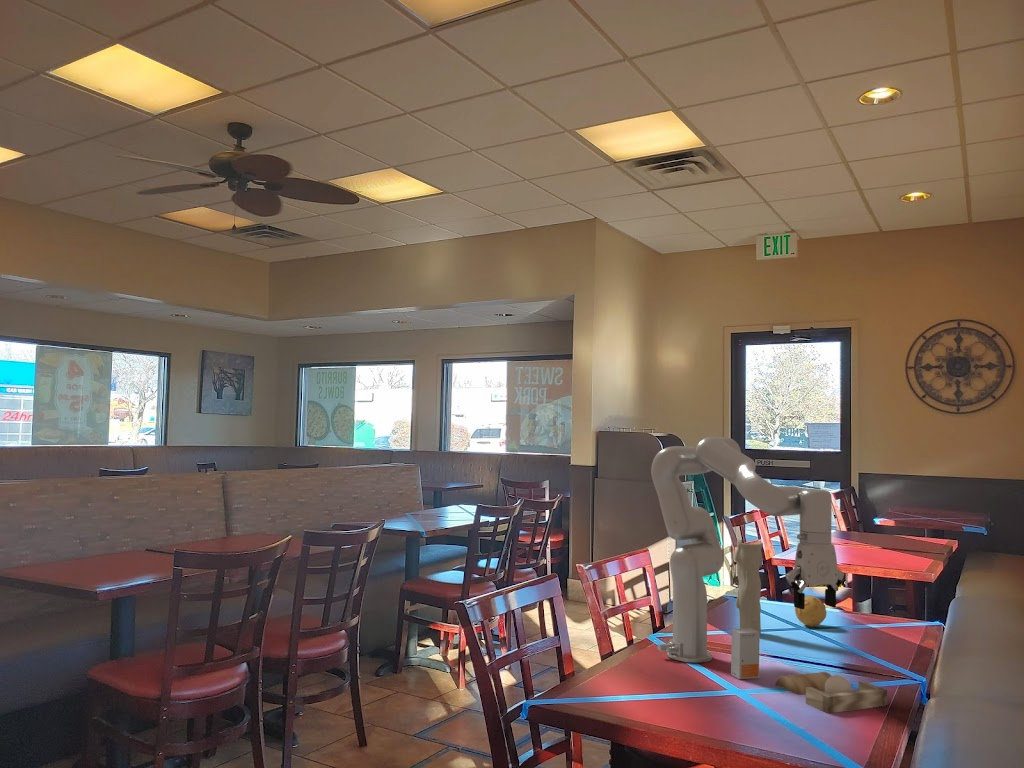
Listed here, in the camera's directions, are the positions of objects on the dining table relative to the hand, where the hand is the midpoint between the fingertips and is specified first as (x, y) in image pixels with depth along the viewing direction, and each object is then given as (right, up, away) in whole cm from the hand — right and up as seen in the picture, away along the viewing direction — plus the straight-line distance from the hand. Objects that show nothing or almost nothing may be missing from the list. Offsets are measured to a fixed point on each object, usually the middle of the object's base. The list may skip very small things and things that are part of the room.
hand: (814, 607), depth 196 cm
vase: (0, -24, +54) cm, 60 cm away
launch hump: (-2, -25, +1) cm, 26 cm away
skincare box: (-15, -21, +8) cm, 27 cm away
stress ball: (+24, -26, +66) cm, 75 cm away
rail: (+3, -20, -11) cm, 23 cm away
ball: (+2, -17, -9) cm, 19 cm away
